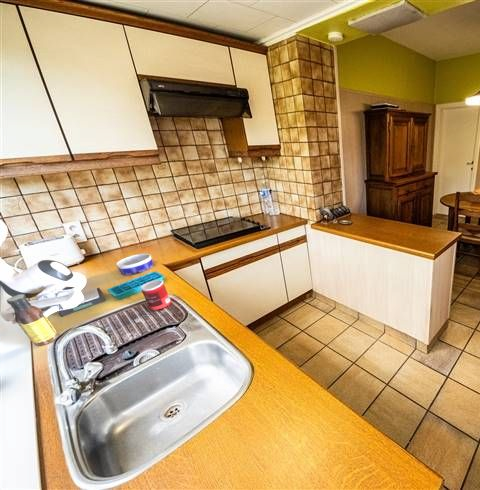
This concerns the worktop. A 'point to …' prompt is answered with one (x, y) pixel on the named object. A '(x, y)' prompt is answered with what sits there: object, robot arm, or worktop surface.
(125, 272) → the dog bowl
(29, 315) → the sauce bottle
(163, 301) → the canned food
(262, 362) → the worktop surface
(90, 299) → the scale
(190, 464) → the worktop surface
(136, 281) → the ice cube tray
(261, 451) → the worktop surface
